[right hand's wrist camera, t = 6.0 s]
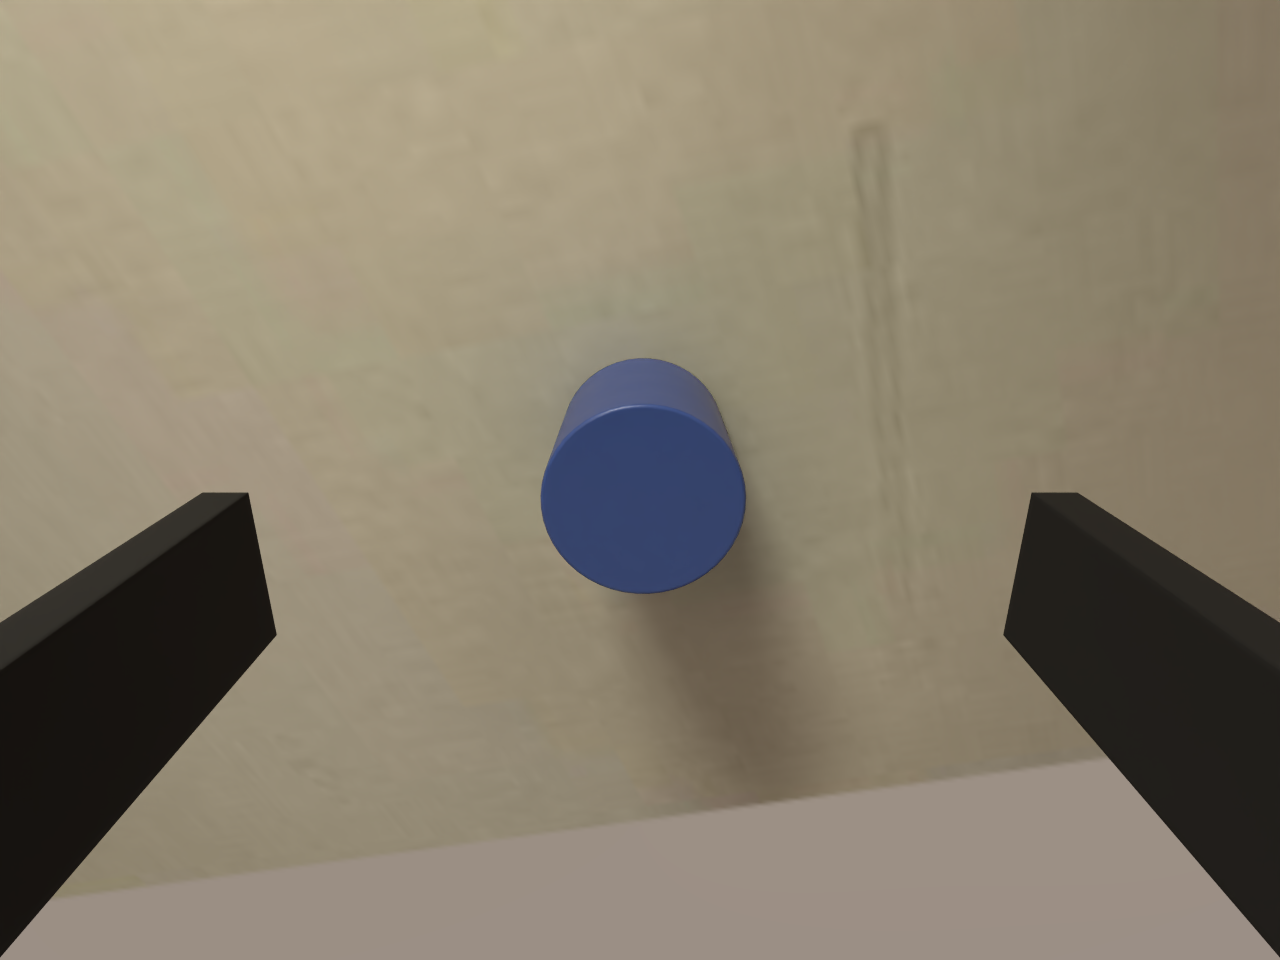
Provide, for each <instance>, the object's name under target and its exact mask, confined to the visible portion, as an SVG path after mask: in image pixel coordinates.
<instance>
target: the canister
mask: <svg viewBox="0 0 1280 960" xmlns="http://www.w3.org/2000/svg"><path fill="white" fill-rule="evenodd" d="M745 506H746V491H745V483H744V478H743V474H742V471H741V468H740V465H739V463H738V460H737V457H736V455H735V452H734V449H733V447H732V444H731V441H730V439H729V436H728V433H727V431H726V428H725V425H724V422H723V420H722V417H721V414H720V412H719V409H718V406H717V404H716V402H715V400H714V398H713V397H712V395H711V394H710V392H709V391H708V389H707V388H706V387H705V386H704V385H703V384H702V383H701V382H700V381H699V380H698V379H697V378H696V377H695V376H693V375H692V374H691V373H690V372H688V371H686V370H684V369H683V368H681V367H679V366H677V365H674V364H672V363H669V362H665V361H662V360H656V359H642V358H638V359H630V360H625V361H621V362H617V363H614V364H612V365H610V366H607V367H605V368H603V369H602V370H600V371H598V372H597V373H595V374H594V375H593V376H591V377H590V378H589V379H588V380H587V381H586V382H585V383H584V384H583V385H582V386H581V387H580V388H579V390H578V391H577V392H576V394H575V395H574V397H573V399H572V401H571V402H570V404H569V407H568V409H567V412H566V415H565V417H564V420H563V423H562V426H561V428H560V431H559V434H558V437H557V439H556V442H555V445H554V448H553V450H552V453H551V456H550V459H549V461H548V464H547V467H546V470H545V473H544V477H543V481H542V487H541V510H542V516H543V521H544V524H545V527H546V530H547V533H548V535H549V537H550V539H551V541H552V543H553V544H554V546H555V547H556V549H557V550H558V552H559V553H560V555H561V556H562V557H563V558H564V559H565V560H566V561H567V562H568V564H570V565H571V566H572V567H573V568H574V569H575V570H576V571H578V572H579V573H580V574H582V575H583V576H585V577H586V578H588V579H589V580H591V581H593V582H595V583H597V584H599V585H602V586H604V587H607V588H610V589H613V590H617V591H621V592H627V593H636V594H650V593H660V592H665V591H669V590H674V589H677V588H679V587H682V586H685V585H687V584H689V583H691V582H693V581H695V580H697V579H699V578H700V577H702V576H703V575H705V574H706V573H708V572H709V571H710V570H711V569H712V568H714V567H715V566H716V565H717V564H718V563H719V562H720V561H721V560H722V559H723V558H724V556H725V555H726V554H727V553H728V551H729V550H730V548H731V547H732V545H733V544H734V542H735V540H736V538H737V536H738V534H739V531H740V529H741V526H742V523H743V519H744V514H745Z"/></svg>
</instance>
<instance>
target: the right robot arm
mask: <svg viewBox="0 0 1280 960" xmlns="http://www.w3.org/2000/svg"><path fill="white" fill-rule="evenodd" d="M276 635H277V634H276V629H275V624H274V619H273V614H272V609H271V604H270V599H269V594H268V589H267V584H266V579H265V574H264V569H263V564H262V559H261V554H260V549H259V544H258V539H257V534H256V529H255V524H254V519H253V514H252V509H251V504H250V499H249V494H248V493H201V494H200V495H198V496H197V497H195V498H193V499H192V500H190V501H189V502H187V503H186V504H184V505H183V506H181V507H179V508H178V509H176V510H175V511H173V512H172V513H170V514H169V515H167V516H165V517H164V518H162V519H161V520H159V521H158V522H156V523H155V524H153V525H151V526H150V527H148V528H147V529H145V530H144V531H142V532H141V533H139V534H138V535H136V536H134V537H133V538H131V539H130V540H128V541H127V542H125V543H124V544H122V545H120V546H119V547H117V548H116V549H114V550H113V551H111V552H110V553H108V554H106V555H105V556H103V557H102V558H100V559H99V560H97V561H96V562H94V563H92V564H91V565H89V566H88V567H86V568H85V569H83V570H82V571H80V572H78V573H77V574H75V575H74V576H72V577H71V578H69V579H68V580H66V581H64V582H63V583H61V584H60V585H58V586H57V587H55V588H54V589H52V590H50V591H49V592H47V593H46V594H44V595H43V596H41V597H40V598H38V599H36V600H35V601H33V602H32V603H30V604H29V605H27V606H26V607H24V608H22V609H21V610H19V611H18V612H16V613H15V614H13V615H12V616H10V617H8V618H7V619H5V620H4V621H2V622H1V623H0V957H1V956H2V955H3V953H4V952H5V951H6V950H7V949H8V948H9V946H10V945H11V944H12V943H13V942H14V941H15V939H16V938H17V937H18V936H19V935H20V934H21V932H22V931H23V930H24V929H25V928H26V927H27V925H28V924H29V923H30V922H31V921H32V920H33V918H34V917H35V916H36V915H37V914H38V913H39V911H40V910H41V909H42V908H43V907H44V906H45V904H46V903H47V902H48V901H49V900H50V899H51V897H52V896H53V895H54V894H55V893H56V892H57V890H58V889H59V888H60V887H61V886H62V885H63V883H64V882H65V881H66V880H67V879H68V878H69V876H70V875H71V874H72V873H73V872H74V871H75V869H76V868H77V867H78V866H79V865H80V864H81V862H82V861H83V860H84V859H85V858H86V857H87V855H88V854H89V853H90V852H91V851H92V850H93V848H94V847H95V846H96V845H97V844H98V843H99V841H100V840H101V839H102V838H103V837H104V836H105V835H106V833H107V832H108V831H109V830H110V829H111V828H112V826H113V825H114V824H115V823H116V822H117V821H118V819H119V818H120V817H121V816H122V815H123V814H124V812H125V811H126V810H127V809H128V808H129V807H130V805H131V804H132V803H133V802H134V801H135V800H136V798H137V797H138V796H139V795H140V794H141V793H142V791H143V790H144V789H145V788H146V787H147V786H148V784H149V783H150V782H151V781H152V780H153V779H154V777H155V776H156V775H157V774H158V773H159V772H160V770H161V769H162V768H163V767H164V766H165V765H166V763H167V762H168V761H169V760H170V759H171V758H172V756H173V755H174V754H175V753H176V752H177V751H178V749H179V748H180V747H181V746H182V745H183V744H184V742H185V741H186V740H187V739H188V738H189V737H190V735H191V734H192V733H193V732H194V731H195V730H196V728H197V727H198V726H199V725H200V724H201V723H202V721H203V720H204V719H205V718H206V717H207V716H208V714H209V713H210V712H211V711H212V710H213V709H214V707H215V706H216V705H217V704H218V703H219V702H220V700H221V699H222V698H223V697H224V696H225V695H226V693H227V692H228V691H229V690H230V689H231V688H232V686H233V685H234V684H235V683H236V682H237V681H238V679H239V678H240V677H241V676H242V675H243V674H244V672H245V671H246V670H247V669H248V668H249V667H250V665H251V664H252V663H253V662H254V661H255V660H256V658H257V657H258V656H259V655H260V654H261V653H262V651H263V650H264V649H265V648H266V647H267V646H268V644H269V643H270V642H271V641H272V640H273V639H274V637H275V636H276ZM1003 635H1004V636H1005V637H1006V639H1007V640H1008V641H1009V642H1010V643H1011V644H1012V646H1013V647H1014V648H1015V649H1016V650H1017V651H1018V653H1019V654H1020V655H1021V656H1022V657H1023V658H1024V660H1025V661H1026V662H1027V663H1028V664H1029V665H1030V667H1031V668H1032V669H1033V670H1034V671H1035V672H1036V674H1037V675H1038V676H1039V677H1040V678H1041V679H1042V681H1043V682H1044V683H1045V684H1046V685H1047V686H1048V688H1049V689H1050V690H1051V691H1052V692H1053V693H1054V695H1055V696H1056V697H1057V698H1058V699H1059V700H1060V702H1061V703H1062V704H1063V705H1064V706H1065V707H1066V709H1067V710H1068V711H1069V712H1070V713H1071V714H1072V716H1073V717H1074V718H1075V719H1076V720H1077V721H1078V723H1079V724H1080V725H1081V726H1082V727H1083V728H1084V730H1085V731H1086V732H1087V733H1088V734H1089V735H1090V737H1091V738H1092V739H1093V740H1094V741H1095V742H1096V744H1097V745H1098V746H1099V747H1100V748H1101V749H1102V751H1103V752H1104V753H1105V754H1106V755H1107V756H1108V758H1109V759H1110V760H1111V761H1112V762H1113V763H1114V765H1115V766H1116V767H1117V768H1118V769H1119V770H1120V772H1121V773H1122V774H1123V775H1124V776H1125V777H1126V779H1127V780H1128V781H1129V782H1130V783H1131V784H1132V786H1133V787H1134V788H1135V789H1136V790H1137V791H1138V793H1139V794H1140V795H1141V796H1142V797H1143V798H1144V799H1145V801H1146V802H1147V803H1148V804H1149V805H1150V807H1151V808H1152V809H1153V810H1154V811H1155V812H1156V814H1157V815H1158V816H1159V817H1160V818H1161V819H1162V820H1163V822H1164V823H1165V824H1166V825H1167V826H1168V828H1169V829H1170V830H1171V831H1172V832H1173V833H1174V835H1175V836H1176V837H1177V838H1178V839H1179V840H1180V842H1181V843H1182V844H1183V845H1184V846H1185V847H1186V848H1187V850H1188V851H1189V852H1190V853H1191V854H1192V855H1193V857H1194V858H1195V859H1196V860H1197V861H1198V862H1199V864H1200V865H1201V866H1202V867H1203V868H1204V869H1205V871H1206V872H1207V873H1208V874H1209V875H1210V876H1211V878H1212V879H1213V880H1214V881H1215V882H1216V883H1217V885H1218V886H1219V887H1220V888H1221V889H1222V890H1223V892H1224V893H1225V894H1226V895H1227V896H1228V897H1229V899H1230V900H1231V901H1232V902H1233V903H1234V904H1235V906H1236V907H1237V908H1238V909H1239V910H1240V911H1241V913H1242V914H1243V915H1244V916H1245V917H1246V918H1247V920H1248V921H1249V922H1250V923H1251V924H1252V925H1253V927H1254V928H1255V929H1256V930H1257V931H1258V932H1259V934H1260V935H1261V936H1262V937H1263V938H1264V939H1265V941H1266V942H1267V943H1268V944H1269V945H1270V946H1271V948H1272V949H1273V950H1274V951H1275V952H1276V953H1277V955H1278V956H1279V957H1280V623H1279V622H1278V621H1276V620H1275V619H1273V618H1272V617H1270V616H1268V615H1267V614H1265V613H1264V612H1262V611H1261V610H1259V609H1258V608H1256V607H1254V606H1253V605H1251V604H1250V603H1248V602H1247V601H1245V600H1244V599H1242V598H1240V597H1239V596H1237V595H1236V594H1234V593H1233V592H1231V591H1230V590H1228V589H1226V588H1225V587H1223V586H1222V585H1220V584H1219V583H1217V582H1216V581H1214V580H1212V579H1211V578H1209V577H1208V576H1206V575H1205V574H1203V573H1202V572H1200V571H1198V570H1197V569H1195V568H1194V567H1192V566H1191V565H1189V564H1188V563H1186V562H1184V561H1183V560H1181V559H1180V558H1178V557H1177V556H1175V555H1174V554H1172V553H1170V552H1169V551H1167V550H1166V549H1164V548H1163V547H1161V546H1160V545H1158V544H1156V543H1155V542H1153V541H1152V540H1150V539H1149V538H1147V537H1146V536H1144V535H1142V534H1141V533H1139V532H1138V531H1136V530H1135V529H1133V528H1132V527H1130V526H1129V525H1127V524H1125V523H1124V522H1122V521H1121V520H1119V519H1118V518H1116V517H1115V516H1113V515H1111V514H1110V513H1108V512H1107V511H1105V510H1104V509H1102V508H1101V507H1099V506H1097V505H1096V504H1094V503H1093V502H1091V501H1090V500H1088V499H1087V498H1085V497H1083V496H1082V495H1080V494H1079V493H1032V494H1031V499H1030V504H1029V509H1028V514H1027V519H1026V524H1025V529H1024V534H1023V539H1022V544H1021V549H1020V554H1019V559H1018V564H1017V569H1016V574H1015V579H1014V584H1013V589H1012V594H1011V599H1010V604H1009V609H1008V614H1007V619H1006V624H1005V629H1004V634H1003Z"/></svg>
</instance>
